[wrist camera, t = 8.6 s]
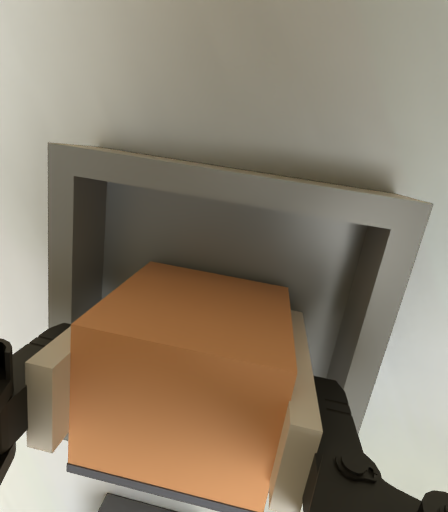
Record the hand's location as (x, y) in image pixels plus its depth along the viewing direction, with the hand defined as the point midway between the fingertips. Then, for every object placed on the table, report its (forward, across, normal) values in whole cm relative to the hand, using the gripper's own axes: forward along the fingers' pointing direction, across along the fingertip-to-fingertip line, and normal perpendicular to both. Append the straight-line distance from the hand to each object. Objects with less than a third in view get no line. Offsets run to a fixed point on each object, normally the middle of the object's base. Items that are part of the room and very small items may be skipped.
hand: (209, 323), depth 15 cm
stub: (0, 0, 0) cm, 0 cm away
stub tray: (+2, 0, 0) cm, 2 cm away
